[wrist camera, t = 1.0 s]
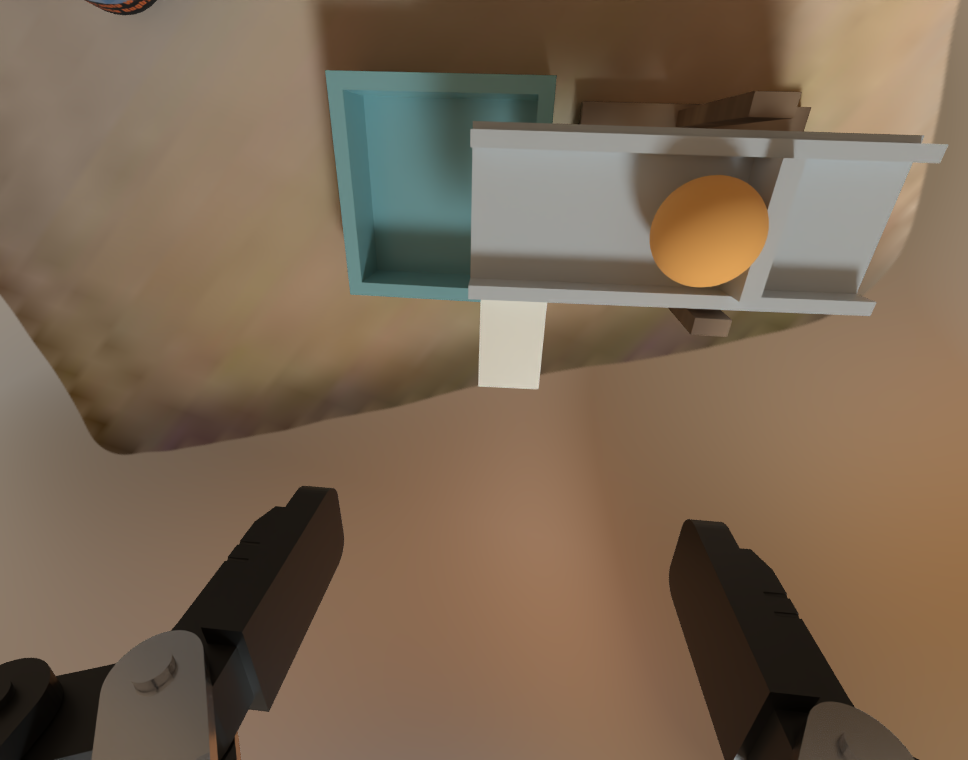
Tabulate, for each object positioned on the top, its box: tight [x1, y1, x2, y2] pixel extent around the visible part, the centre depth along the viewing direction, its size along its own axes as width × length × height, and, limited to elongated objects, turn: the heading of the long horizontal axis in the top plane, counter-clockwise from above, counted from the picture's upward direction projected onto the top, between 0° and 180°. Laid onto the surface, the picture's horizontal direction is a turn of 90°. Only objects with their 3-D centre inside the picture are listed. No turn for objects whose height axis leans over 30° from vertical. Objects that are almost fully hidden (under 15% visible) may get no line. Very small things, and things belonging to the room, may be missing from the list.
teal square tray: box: [325, 70, 557, 302], centre depth 26 cm, size 12×12×4 cm
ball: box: [650, 175, 769, 287], centre depth 17 cm, size 4×4×4 cm
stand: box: [579, 91, 811, 337], centre depth 23 cm, size 12×10×10 cm
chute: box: [468, 121, 948, 389], centre depth 22 cm, size 17×12×10 cm
